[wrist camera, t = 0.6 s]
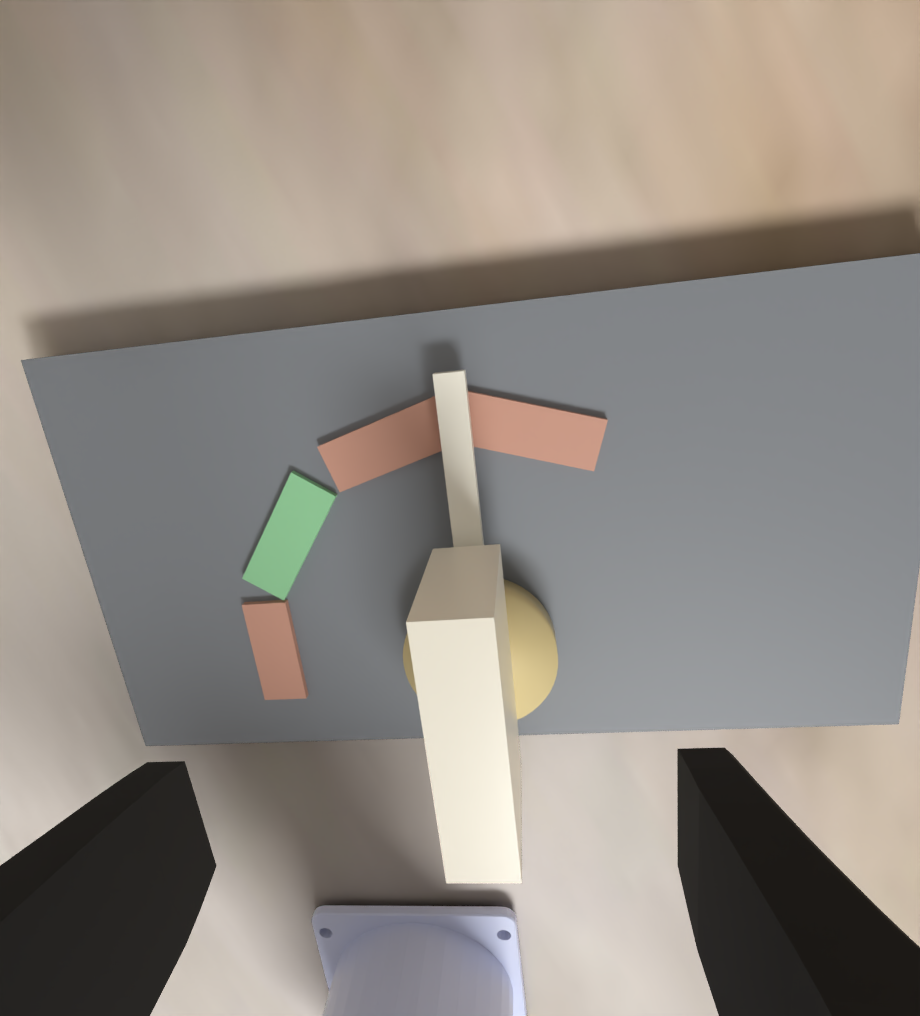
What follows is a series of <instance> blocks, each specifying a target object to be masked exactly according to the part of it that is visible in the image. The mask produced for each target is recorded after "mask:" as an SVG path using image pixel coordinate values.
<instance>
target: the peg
mask: <svg viewBox="0 0 920 1016" xmlns="http://www.w3.org/2000/svg"><path fill="white" fill-rule="evenodd" d="M432 375H433V383H434V391H435V399H436V407H437V416H438V424H439V432H440V440H441V448H442V456H443V465H444V473H445V481H446V489H447V497H448V505H449V514H450V522H451V530H452V538H453V546H454V547H451V548H436V549H433V550H432V553H431V555H430V558H429V561H428V563H427V566H426V569H425V572H424V574H423V577H422V580H421V583H420V585H419V588H418V591H417V593H416V596H415V599H414V602H413V604H412V607H411V610H410V612H409V615H408V618H407V621H406V626H407V635H406V638H405V642H404V646H403V665H404V669H405V673H406V676H407V678H408V681H409V683H410V685H411V687H412V688H413V690H414V691H415V693H416V694H417V697H418V704H419V710H420V717H421V723H422V730H423V736H424V743H425V749H426V756H427V762H428V769H429V775H430V782H431V788H432V794H433V801H434V807H435V814H436V820H437V827H438V833H439V840H440V846H441V853H442V859H443V866H444V872H445V879H446V883H522V812H521V754H520V744H519V733H518V723H517V720H518V719H520V718H522V717H524V716H526V715H528V714H529V713H531V712H532V711H533V710H535V709H536V708H537V707H538V706H539V705H540V704H541V703H542V702H543V701H544V700H545V699H546V697H547V696H548V694H549V693H550V691H551V689H552V687H553V685H554V682H555V679H556V676H557V670H558V653H557V644H556V636H555V630H554V626H553V623H552V621H551V618H550V616H549V614H548V613H547V611H546V609H545V608H544V606H543V605H542V604H541V603H540V602H539V601H538V599H537V598H535V597H534V596H533V595H532V594H531V593H530V592H528V591H527V590H525V589H524V588H523V587H521V586H519V585H517V584H515V583H513V582H510V581H508V580H505V579H503V568H502V558H501V548H500V544H494V545H484V539H483V530H482V520H481V511H480V501H479V492H478V483H477V473H476V464H475V454H474V445H473V435H472V426H471V416H470V407H469V398H468V388H467V379H466V370H457V371H447V372H438V373H434V374H432Z"/></svg>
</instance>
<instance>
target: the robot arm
mask: <svg viewBox="0 0 920 1016" xmlns="http://www.w3.org/2000/svg"><path fill="white" fill-rule="evenodd" d="M215 868H216V863H215V860H214V857H213V853H212V850H211V847H210V843H209V840H208V837H207V834H206V830H205V827H204V824H203V820H202V817H201V814H200V811H199V807H198V804H197V801H196V797H195V794H194V791H193V787H192V784H191V781H190V778H189V774H188V771H187V768H186V764H185V761H183V762H147V763H146V764H144V765H143V766H141V767H139V768H138V769H136V770H135V771H133V772H132V773H130V774H129V775H127V776H126V777H124V778H123V779H121V780H120V781H118V782H117V783H115V784H114V785H112V786H111V787H109V788H108V789H107V790H105V791H104V792H102V793H101V794H100V795H98V796H97V797H95V798H94V799H92V800H91V801H90V802H88V803H87V804H85V805H84V806H83V807H81V808H80V809H79V810H77V811H76V812H74V813H73V814H72V815H70V816H69V817H67V818H66V819H65V820H63V821H62V822H60V823H59V824H58V825H56V826H55V827H54V828H52V829H51V830H49V831H48V832H47V833H45V834H44V835H42V836H41V837H40V838H38V839H37V840H35V841H34V842H33V843H31V844H30V845H29V846H27V847H26V848H24V849H23V850H22V851H20V852H19V853H17V854H16V855H15V856H13V857H12V858H10V859H9V860H8V861H6V862H5V863H3V864H2V865H1V866H0V1016H150V1014H151V1012H152V1010H153V1008H154V1006H155V1004H156V1003H157V1001H158V999H159V997H160V995H161V993H162V991H163V989H164V987H165V985H166V983H167V981H168V979H169V977H170V975H171V973H172V971H173V969H174V967H175V965H176V963H177V961H178V959H179V957H180V955H181V953H182V951H183V949H184V947H185V945H186V943H187V941H188V939H189V936H190V934H191V931H192V929H193V926H194V924H195V921H196V919H197V916H198V914H199V911H200V909H201V906H202V904H203V901H204V898H205V895H206V893H207V890H208V887H209V885H210V882H211V879H212V876H213V874H214V871H215ZM678 868H679V873H680V877H681V881H682V886H683V890H684V895H685V899H686V904H687V908H688V912H689V916H690V921H691V925H692V929H693V933H694V937H695V942H696V946H697V950H698V953H699V956H700V959H701V962H702V965H703V968H704V972H705V975H706V978H707V981H708V984H709V987H710V990H711V993H712V996H713V999H714V1002H715V1005H716V1008H717V1011H718V1014H719V1016H920V947H919V946H918V945H917V944H916V943H915V942H913V941H912V940H911V939H910V938H909V937H908V936H907V935H906V934H905V933H904V932H903V931H902V930H901V929H900V928H899V927H898V926H897V925H896V924H894V923H893V922H892V921H891V920H890V919H889V918H888V917H887V916H886V915H885V914H884V913H883V912H882V911H881V910H880V909H879V908H878V907H877V906H876V905H875V904H874V903H873V902H872V901H871V900H870V899H869V898H868V897H867V896H866V895H865V894H864V893H863V892H862V891H861V890H860V889H859V888H858V887H857V886H856V885H855V884H854V883H853V882H852V881H851V880H850V879H849V878H848V877H847V876H846V875H845V874H844V873H843V872H842V871H841V870H840V869H839V868H838V867H837V866H836V865H835V864H834V863H833V862H832V861H831V860H830V859H829V858H828V857H827V856H826V855H825V854H824V853H823V852H822V851H821V850H820V849H819V848H818V847H817V846H816V845H815V844H814V843H813V842H812V841H811V840H810V839H809V838H808V837H807V836H806V835H805V833H804V832H803V831H802V830H801V829H800V828H799V827H798V826H797V825H796V824H795V823H794V822H793V821H792V820H791V819H790V818H789V816H788V815H787V814H786V813H785V812H784V811H783V810H782V809H781V808H780V807H779V806H778V805H777V804H776V802H775V801H774V800H773V799H772V798H771V797H770V796H769V795H768V794H767V793H766V792H765V790H764V789H763V788H762V787H761V786H760V785H759V784H758V783H757V782H756V781H755V779H754V778H753V777H752V776H751V775H750V774H749V773H748V772H747V770H746V769H745V768H744V767H743V766H742V765H741V764H740V763H739V761H738V760H737V759H736V758H735V757H734V756H733V755H732V754H731V753H730V752H729V751H728V750H726V749H725V748H693V749H678ZM312 925H313V929H314V933H315V937H316V941H317V945H318V949H319V953H320V957H321V961H322V965H323V969H324V973H325V977H326V981H327V985H328V989H329V994H328V998H327V1001H326V1005H325V1009H324V1012H323V1016H527V1009H526V1000H525V991H524V982H523V973H522V964H521V955H520V946H519V937H518V928H517V919H516V915H515V913H514V912H513V911H512V910H511V909H509V908H507V907H502V906H356V905H323V906H319V907H317V908H316V909H315V911H314V913H313V916H312Z"/></svg>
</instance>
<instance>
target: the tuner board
mask: <svg viewBox="0 0 920 1016" xmlns="http://www.w3.org/2000/svg"><path fill="white" fill-rule="evenodd" d="M21 362H22V365H23V368H24V371H25V374H26V377H27V381H28V384H29V387H30V390H31V393H32V396H33V399H34V402H35V405H36V408H37V411H38V415H39V418H40V421H41V424H42V427H43V430H44V433H45V436H46V439H47V442H48V445H49V449H50V452H51V455H52V458H53V461H54V464H55V467H56V470H57V473H58V476H59V479H60V482H61V486H62V489H63V492H64V495H65V498H66V501H67V504H68V507H69V510H70V513H71V516H72V520H73V523H74V526H75V529H76V532H77V535H78V538H79V541H80V544H81V547H82V550H83V554H84V557H85V560H86V563H87V566H88V569H89V572H90V575H91V578H92V581H93V584H94V588H95V591H96V594H97V597H98V600H99V603H100V606H101V609H102V612H103V615H104V618H105V621H106V625H107V628H108V631H109V634H110V637H111V640H112V643H113V646H114V649H115V652H116V655H117V659H118V662H119V665H120V668H121V671H122V674H123V677H124V680H125V683H126V686H127V689H128V693H129V696H130V699H131V702H132V705H133V708H134V711H135V714H136V717H137V720H138V723H139V726H140V730H141V733H142V736H143V739H144V742H145V745H146V746H164V745H198V744H233V743H267V742H302V741H336V740H371V739H405V738H424V736H423V730H422V723H421V717H420V710H419V704H418V697H417V694H416V693H415V691H414V690H413V688H412V687H411V685H410V683H409V681H408V678H407V676H406V673H405V669H404V665H403V646H404V642H405V638H406V635H407V626H406V621H407V618H408V615H409V612H410V610H411V607H412V604H413V602H414V599H415V596H416V593H417V591H418V588H419V585H420V583H421V580H422V577H423V574H424V572H425V569H426V566H427V563H428V561H429V558H430V555H431V553H432V550H433V549H436V548H451V547H454V546H453V538H452V530H451V522H450V514H449V505H448V497H447V489H446V481H445V473H444V465H443V456H442V448H441V440H440V432H439V424H438V416H437V407H436V399H435V391H434V383H433V375H432V374H434V373H438V372H447V371H457V370H466V379H467V388H468V398H469V407H470V416H471V426H472V435H473V445H474V454H475V464H476V473H477V483H478V492H479V501H480V511H481V520H482V530H483V539H484V545H494V544H500V548H501V558H502V568H503V579H505V580H508V581H510V582H513V583H515V584H517V585H519V586H521V587H523V588H524V589H525V590H527V591H528V592H530V593H531V594H532V595H533V596H534V597H535V598H537V599H538V601H539V602H540V603H541V604H542V605H543V606H544V608H545V609H546V611H547V613H548V614H549V616H550V618H551V621H552V623H553V626H554V630H555V636H556V644H557V653H558V670H557V676H556V679H555V682H554V685H553V687H552V689H551V691H550V693H549V694H548V696H547V697H546V699H545V700H544V701H543V702H542V703H541V704H540V705H539V706H538V707H537V708H536V709H535V710H533V711H532V712H531V713H529V714H528V715H526V716H524V717H522V718H520V719H518V720H517V723H518V733H519V735H543V734H578V733H612V732H647V731H681V730H716V729H750V728H785V727H819V726H854V725H888V724H899V719H900V711H901V704H902V696H903V688H904V681H905V673H906V665H907V658H908V650H909V642H910V635H911V627H912V620H913V612H914V604H915V597H916V589H917V581H918V574H919V566H920V253H918V254H909V255H901V256H893V257H884V258H876V259H867V260H859V261H851V262H842V263H834V264H825V265H817V266H809V267H800V268H792V269H783V270H775V271H766V272H758V273H750V274H741V275H733V276H724V277H716V278H708V279H699V280H691V281H682V282H674V283H666V284H657V285H649V286H640V287H632V288H624V289H615V290H607V291H598V292H590V293H582V294H573V295H565V296H556V297H548V298H540V299H531V300H523V301H514V302H506V303H498V304H489V305H481V306H472V307H464V308H456V309H447V310H439V311H430V312H422V313H414V314H405V315H397V316H388V317H380V318H372V319H363V320H355V321H346V322H338V323H330V324H321V325H313V326H304V327H296V328H288V329H279V330H271V331H262V332H254V333H246V334H237V335H229V336H220V337H212V338H204V339H195V340H187V341H178V342H170V343H162V344H153V345H145V346H136V347H128V348H120V349H111V350H103V351H94V352H86V353H77V354H69V355H61V356H52V357H44V358H35V359H27V360H21Z"/></svg>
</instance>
